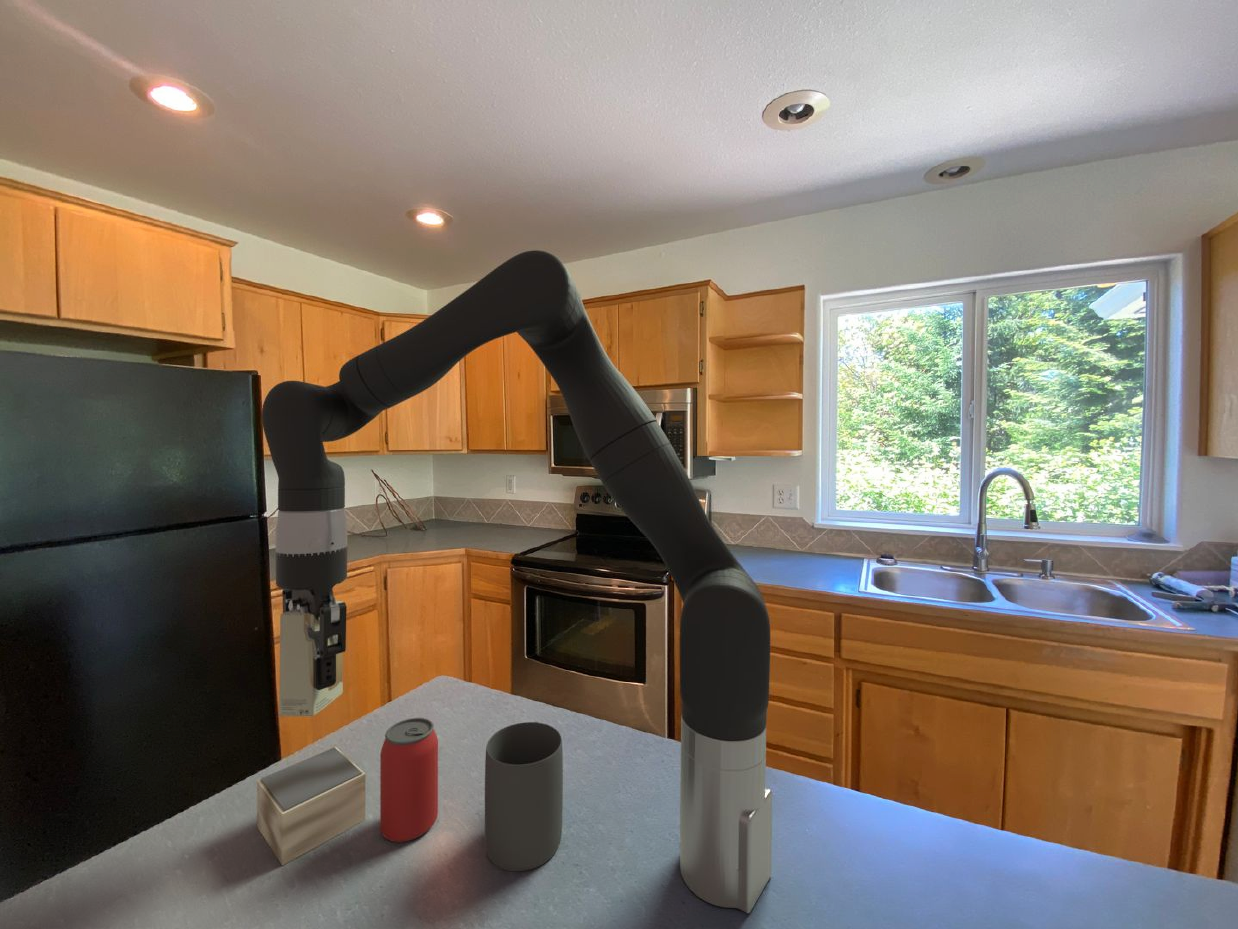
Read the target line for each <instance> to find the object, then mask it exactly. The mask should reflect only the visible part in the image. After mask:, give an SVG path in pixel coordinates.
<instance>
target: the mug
mask: <svg viewBox="0 0 1238 929" xmlns="http://www.w3.org/2000/svg"><path fill="white" fill-rule="evenodd" d="M563 752H564V750H563V740H562V736H561V733H560V732H559V730H557V729H556V728H555V727H553V726H551V725H549V724H546V723H541V722H538V721H534V722H533V721H527V722H525V721H524V722H518V723H514V724H510V725H507V726H505V727H503V728H501V729H499V730H498V731H496V732H495V733H493V735H491V737H489V739H488V741H487V744H486V748H485V759H484V760H485V762H484V764H485V765H484V770H485V771H484V838H485V840H484V841H485V850H486V854H487V856H488V858H489V860H490V862H492V863H493V864H494V865H495V866H497V867H498V868H500V869H502V870H505V871H509V872H524V871H525V872H526V871H529V870H533V869H535V868H538V867H540V866H542V865H543V864H545V863H546V862H548V861H549V860H550V859H551V858H553V856H554V855H555V854H556V853H557V851H558V849H559V846H560V844H561V840H562V832H563V810H564V809H563V807H564V806H563V805H564V804H563V802H564V801H563V798H564V796H563V795H564V794H563V793H564V780H563V779H564V775H563V774H564V773H563V772H564V766H563V765H564V764H563V763H564V762H563V761H564V760H563V759H564V757H563V755H564V754H563Z"/></svg>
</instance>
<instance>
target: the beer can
mask: <svg viewBox="0 0 1238 929" xmlns="http://www.w3.org/2000/svg"><path fill="white" fill-rule="evenodd" d="M434 727H435V725H434V722H433V721H431V720H430V719H428V718H424V717H413V718H411V717H410V718H407V719H403V720H400V721H399V722H396V723H395V724H392V725H391V726H390V727H389V728H388V729H387V730H386V732H385V734H384V737H385V738H384V741H383V744H382V747H381V750H380V768H379V770H380V772H379V773H380V776H379V777H380V779H379V780H380V784H379V785H380V789H379V790H380V796H379V798H380V803H379V804H380V807H379V808H380V809H379V810H380V811H379V813H380V814H379V815H380V819H379V820H380V823H379V824H380V825H379V826H380V832H381V835H382V836H383V837H384V838H385V839H387V840H389V841H391V842H394V843H396V842H397V843H398V842H399V843H404V842H409V841H412V840H414V839H416V838H417V839H418V838H420V837H421V836H422V835H424V834H425V833H427V832H428V831H429V830H430V829H432V827H434V824H435V822H436V821H437V819H438V814H439V739H438V736H437V734H436V731H435V729H434Z"/></svg>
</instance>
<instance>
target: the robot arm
mask: <svg viewBox="0 0 1238 929" xmlns="http://www.w3.org/2000/svg"><path fill="white" fill-rule="evenodd" d="M515 333H517V334H518V335H519V337H521V339H522V340H524V341H525V342H526V343H527V345H528V346H529V347H530V348H531V350H532V351H533V352H534V353H535V355H536V356H537V357H538V359H539V360H540V362H541V363H542V364H543V366H544V367H545V368H546V370H547V372H548V373H549V375H550V376H551V378H552V379H553V380H554V382H555V384H556V385H557V387H558V389H559V391H560V393H561V395H562V397H563V400H564V402H565V405H566V408H567V411H568V414H569V416H570V420H571V423H572V426H573V428H574V431H575V434H576V436H577V438H578V440H579V443H580V446H581V447H582V449H583V452H584V453H585V455H586V457H587V459H588V461H589V462H590V464H591V466H592V468H593V469H594V471H595V473H596V475H597V476H598V478H599V481H600V482H601V483H602V485H603V487H604V488H605V490H606V491H607V493H608V494H609V496H610V497H611V499H612V500H613V501H614V502H615V504H616V505H617V506H618V508H619V509H620V510H621V511H622V512H623V513H624V515H625V516H626V517H627V518H628V519H629V520H630V521H631V522H632V523H633V525H634V526H635V527H637V529H638V530H639V531H640V532H641V533H642V534H643V535H644V536H645V538H646V539H647V540H648V541H649V542H650V543H651V545H652V546H653V547H654V549H655V550H656V551H657V553H658V554H659V555H660V557H661V560H662V562H663V563H664V565H665V566H666V568H667V570H668V572H669V574H670V576H671V578H672V581H673V582H674V585H675V587H676V589H677V590H678V594H679V596H680V598H681V600H682V603H683V604H682V608H681V613H680V620H679V694H680V695H679V696H680V702H681V703H680V704H681V705H680V708H681V713H680V714H681V715H680V718H681V719H680V720H681V721H680V793H679V796H680V800H679V803H680V804H679V839H680V840H679V869H680V875H681V877H682V879H683V881H684V884H686V886H687V887H688V889H689V890H690V892H691V891H692V893H693V894H695V896H696V897H698V898H700V899H702V900H703V901H704V902H706V903H709V904H711V905H713V906H716V907H721V908H731V909H733V908H735V909H739V910H740V911H743V912H744V913H746V914H750V913H751V911H752V909H753V907H754V906H755V904H756V903H757V901H758V899H759V898H760V895H761V894H762V893H763V891H764V889H765V888H766V885H767V884H768V882H769V880H770V879H771V877H772V859H773V858H772V853H773V851H772V849H773V848H772V845H773V791H772V790H771V789H770V788H768V787H766V781H767V780H766V773H767V771H766V770H767V769H766V768H767V766H766V765H767V761H766V760H767V712H768V708H769V701H770V677H771V674H770V673H771V622H770V617H769V616H770V615H769V611H768V609H767V606H766V602H765V600H764V596H763V594H762V591H761V590H760V588H759V586H758V585H757V584H756V582H755V581H754V579H753V578H752V577H751V575H749V573H748V572H747V571H746V570H745V568H744V567H743V565H741V563H740V562H739V561H738V559H737V558H736V557H735V555H734V554H733V553H732V552H731V549H730V548H729V547H728V546H727V545H726V543H725V542H724V541H723V539H722V537H721V536H720V534H718V532H717V530H716V529H715V527H714V525H713V524H712V522H711V520H710V519H709V517H708V515H707V514H706V512H705V509H704V508H703V506H702V503H701V500H700V498H699V497H698V494H697V492H696V490H695V488H694V486H693V483H692V481H691V480H690V477H689V475H688V474H687V471H686V469H685V468H684V465H683V464H682V462H681V460H680V458H679V457H678V454H677V453H676V450H675V448H674V447H673V445H672V443H671V441H669V439H668V437H667V435H666V434H665V431H664V430H663V429H662V427H661V425H660V424H659V422H658V420H657V419H656V418H657V417H655V416H654V414H653V413H652V411H651V410H650V408H649V407H648V405H647V404H646V402H645V401H644V399H642V397H641V396H640V394H639V393H638V392H637V391H636V389H635V388H634V387H633V386H632V385H631V383H629V381H628V380H627V379H626V378H625V376H624V375H623V374H622V373H621V372H620V371H619V370H618V369H617V368H616V366H615V365H614V364H613V362H612V360H611V359H610V357H609V356H608V354H607V353H606V350H605V349H604V346H603V345H602V343H601V341H600V339H599V336H598V335H597V333H596V331H595V329H594V327H593V324H592V323H591V320H590V317H589V316H588V313H587V311H586V309H585V305H584V303H583V300H582V297H581V295H580V293H579V290H578V288H577V286H576V284H575V282H574V279H573V277H572V276H571V273H570V271H569V269H568V268H567V267H566V264H564V263H563V261H561V259H559V258H558V257H557V256H555V255H554V254H552V253H550V252H547V251H544V250H537V249H535V250H534V249H533V250H526V251H523V252H520V253H518V254H515V255H514V256H512V257H510V258H509V259H507V260H505V261H504V262H503V263H502V264H500V265H498V266H497V267H496V268H494V269H493V270H491V271H490V272H488V273H487V274H486V275H485V276H484V277H481V279H480V280H478V281H477V282H476V283H474V284H472V285H471V287H469V288H468V289H466V290H464V291H463V292H461V293H460V294H459V295H458V296H456V297H455V298H454V299H453V300H451V301H449V302H448V303H446V304H445V305H443V307H441V308H440V309H438V310H436V311H435V312H434V313H432V314H431V315H430V316H428V317H426V318H425V319H423V320H422V321H421V322H419V323H418V324H415V325H413V326H412V327H410V328H409V329H407V330H405V331H403V332H402V333H399V334H398V335H396V336H394V337H392V338H391V339H389V340H386V341H384V342H382V343H380V344H378V345H376V346H374V347H372V348H370V349H368V350H366V351H364V352H362V353H360V354H358V355H356V356H354V357H353V358H350V359H349V360H348V361H346V362H345V363H344V364H343V365H342V366H341V368H340V370H339V374H338V379H339V381H337V382H334V383H333V384H330V385H327V386H324V385H319V384H314V383H309V382H305V381H300V380H286V381H281V382H279V383H277V384H275V385H274V386H273V387H272V388H271V389H270V390H269V392H268V393H267V395H266V396H265V398H264V400H263V404H262V408H261V424H262V425H261V426H262V429H263V433H264V436H265V439H266V440H265V441H266V443H267V446H268V450H269V452H270V456H271V460H272V463H273V466H274V468H275V471H276V473H277V475H276V476H277V478H278V479H277V480H278V483H277V510H278V511H277V518H276V525H275V586H276V587H277V588H278V589H281V591H282V592H281V595H282V614H283V613H285V612H288V611H290V610H293V609H297V612H298V613H300V614H301V615H304V614H305V613H311V614H312V615H314V616H315V618H316V620H317V621H318V620H319V621H320V630H319V631H314V630H312V628H311V627H310V625H309V624H308V623H307V621H306V620H305V630H306V632H305V639H306V641H311V642H312V651H313V657H314V688H316V689H317V690H321V689H324V688H327V687H330V686H333V685H334V684H335V683H336V654H339V653H342V652H343V653H345V652H346V649H347V603H346V602H345V601H343V602H342V603H338V604H336V601H337V600H336V598H335V596H334V591H333V588H335V586H337V584H342V583H343V582H344V581H346V580H347V578H348V522H347V517H346V515H347V514H346V508H345V507H346V488H345V487H346V481H345V480H346V478H345V471H344V469H343V467H342V466H341V465H340V464H338V463H336V462H334V461H331V460H329V459H328V457H327V454H326V450H325V445H324V443H328V442H335V441H338V440H343V439H345V438H347V437H349V436H351V435H354V434H355V433H356V432H359V431H360V430H361V429H362V428H364V427H365V426H367V424H369V423H370V422H371V421H373V420H374V419H375V418H376V417H378V416H379V414H381V413H382V412H383V411H386V410H388V409H390V408H393V407H395V406H397V405H399V404H401V403H403V402H405V401H407V400H409V399H411V398H413V397H415V396H417V395H419V394H421V393H423V392H425V391H426V390H428V389H429V388H431V387H432V386H434V385H435V384H437V383H438V382H439V381H441V379H442V378H444V377H445V376H446V375H447V374H448V373H449V372H450V371H451V370H452V369H453V368H454V367H455V366H456V365H457V364H458V363H459V362H460V361H461V360H462V359H464V358H465V357H466V356H468V355H469V354H470V353H472V352H473V351H475V350H476V349H478V348H479V347H481V346H484V345H485V344H488V343H489V342H492V341H494V340H496V339H500V338H502V337H505V336H509V335H511V334H515ZM337 635H338V640H337ZM328 638H329V642H330V645H328Z"/></svg>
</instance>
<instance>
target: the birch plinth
mask: <svg viewBox="0 0 1238 929" xmlns="http://www.w3.org/2000/svg"><path fill="white" fill-rule="evenodd" d="M256 821H257V822H256V825H257V826H256V827H257V829H258V830H259V832H260V833H261V835H262V837H263V838H264V839H265V841H266V842H267V844H268V846H269V847H270V849H271V850H272V852H273V854H274V855H275V857H276V858H277V860H278V861H279V863H280V864H281V866H284V865H287V864H288V863H290V862H292V861H294V860H295V859H297V858H298V857H300V856H302V855H304V854H306V853H308V852H310V851H311V850H314V849H315V848H317V847H318V846H320V845H323V844H325V843H326V842H327V841H329V840H331V839H333V838H335V837H336V836H338V835H340V834H342V833H343V832H345V831H348V830H349V829H350V828H352V827H355V826H357V825H358V824H359V823H361V822H363V821H366V773H365V772H364V771H363V770H362V769H361V768H359V767H358V765H357V764H355V763H354V762H353V761H352V760H351V759H350V758H349V757H347V755H345V753H343V752H342V751H341V750H340V749H339V748H338V747H337V746H334V747H331V748H329V749H328V750H327V749H326V750H324V751H323V752H321V753H320V752H319V753H318V754H316V755H313V756H311V757H308V758H306V759H304V760H301V761H299V762H296V763H294V764H293V765H292V764H291V765H290V766H288V767H285V768H283V769H280V770H278V771H276V772H273V773H271V774H269V775H266V776H264V777H263V776H262V777H261V778H259V779H257V780H256Z"/></svg>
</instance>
